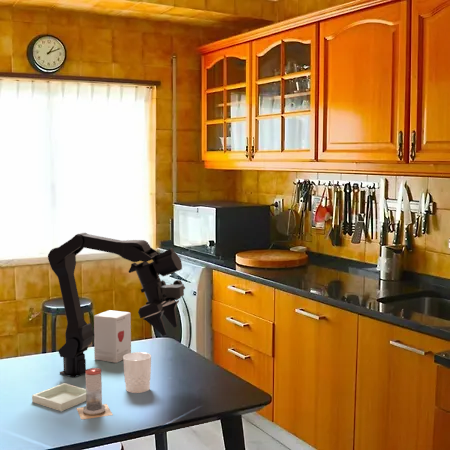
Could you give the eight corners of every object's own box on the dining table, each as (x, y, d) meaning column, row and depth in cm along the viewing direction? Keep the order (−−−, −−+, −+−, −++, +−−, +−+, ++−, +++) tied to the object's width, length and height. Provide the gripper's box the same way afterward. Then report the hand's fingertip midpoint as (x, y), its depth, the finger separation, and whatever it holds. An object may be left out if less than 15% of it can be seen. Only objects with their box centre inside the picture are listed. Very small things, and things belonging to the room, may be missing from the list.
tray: (32, 403, 177) (32, 395, 177) (64, 391, 187) (64, 383, 187) (61, 412, 171) (61, 404, 171) (93, 399, 180) (93, 391, 180)
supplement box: (116, 363, 211) (115, 318, 210) (93, 359, 215) (92, 315, 214) (132, 355, 220) (131, 312, 218) (110, 352, 223) (109, 309, 222)
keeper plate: (76, 410, 173) (76, 408, 173) (106, 405, 176) (106, 403, 176) (81, 421, 166) (81, 419, 166) (112, 416, 169) (112, 414, 169)
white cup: (129, 397, 182) (128, 362, 181) (120, 388, 189) (119, 354, 188) (155, 392, 186) (155, 358, 185) (145, 383, 193) (145, 350, 192)
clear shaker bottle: (78, 412, 170) (77, 371, 169) (94, 405, 175) (93, 365, 173) (94, 417, 167) (93, 375, 166) (109, 410, 172) (108, 369, 170)
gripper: (162, 278, 181) (183, 330, 181) (185, 267, 199) (204, 314, 199) (128, 291, 184) (149, 343, 184) (153, 279, 202) (172, 326, 202)
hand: (170, 331), depth 192 cm, fingers open, 9 cm apart
